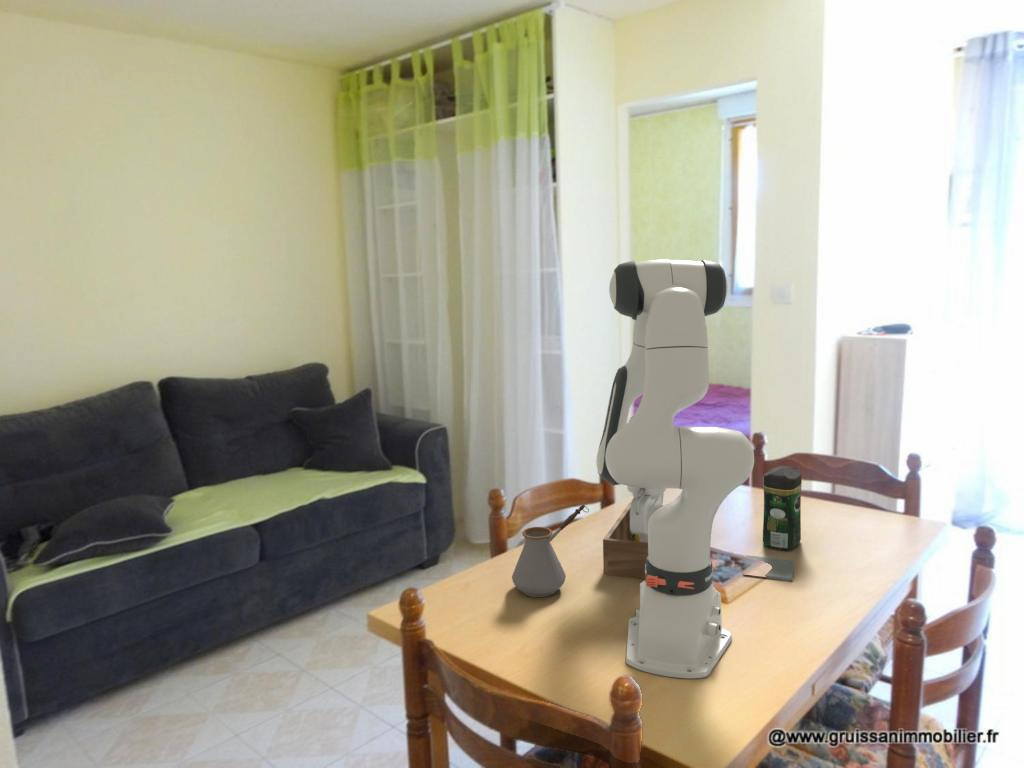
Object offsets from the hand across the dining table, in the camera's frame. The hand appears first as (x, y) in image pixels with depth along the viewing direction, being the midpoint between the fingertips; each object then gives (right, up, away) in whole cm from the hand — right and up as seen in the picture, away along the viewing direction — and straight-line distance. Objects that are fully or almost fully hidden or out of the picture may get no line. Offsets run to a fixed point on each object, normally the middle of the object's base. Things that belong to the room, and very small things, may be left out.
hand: (647, 539), depth 171 cm
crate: (0, -4, +1) cm, 4 cm away
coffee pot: (-22, -7, -12) cm, 26 cm away
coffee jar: (+33, -2, +4) cm, 33 cm away
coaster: (+25, -5, -10) cm, 27 cm away
